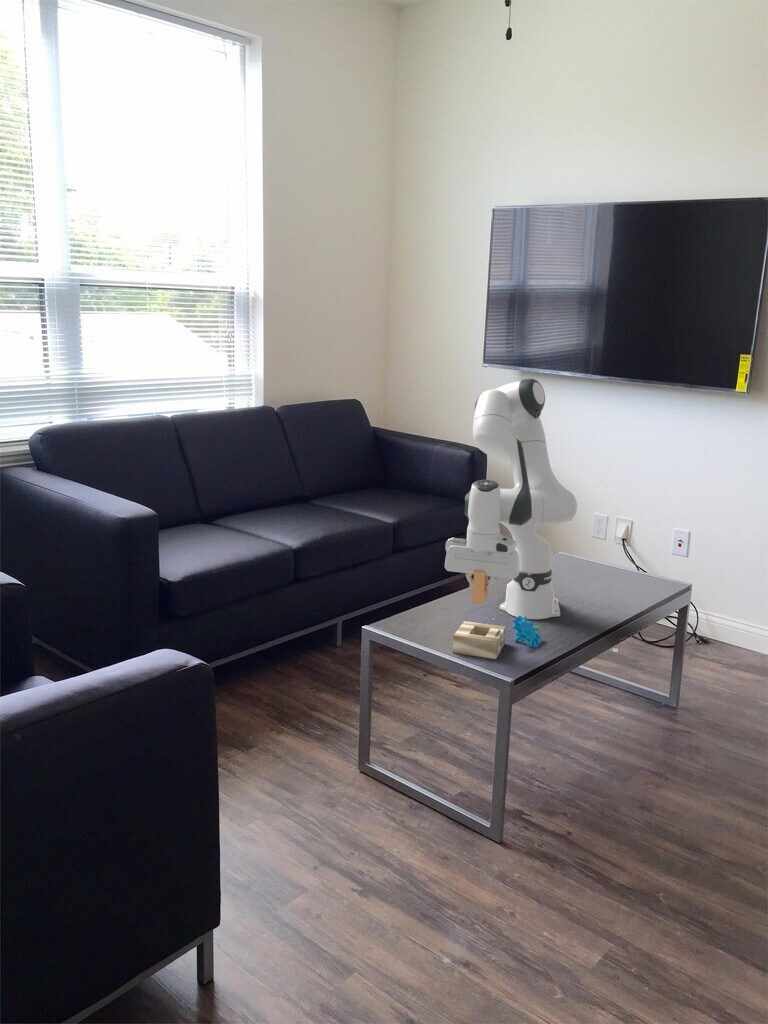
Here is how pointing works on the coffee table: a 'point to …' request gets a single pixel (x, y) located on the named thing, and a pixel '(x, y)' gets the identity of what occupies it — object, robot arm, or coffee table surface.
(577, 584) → the coffee table surface
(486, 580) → the key peg
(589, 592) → the coffee table surface
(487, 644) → the block
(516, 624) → the gear
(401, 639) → the coffee table surface
